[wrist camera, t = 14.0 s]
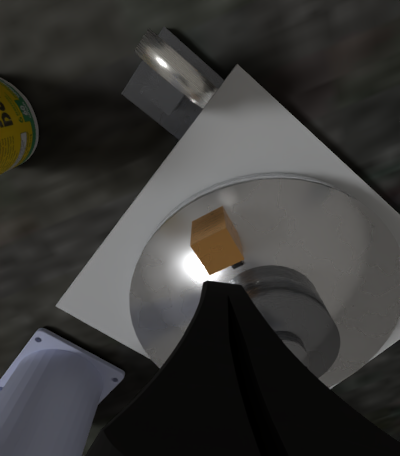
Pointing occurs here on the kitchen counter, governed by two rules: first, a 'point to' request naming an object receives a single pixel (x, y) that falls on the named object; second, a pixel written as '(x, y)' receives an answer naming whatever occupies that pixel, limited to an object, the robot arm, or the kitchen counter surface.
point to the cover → (294, 313)
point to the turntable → (271, 260)
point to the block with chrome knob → (171, 82)
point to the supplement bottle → (16, 127)
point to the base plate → (205, 177)
